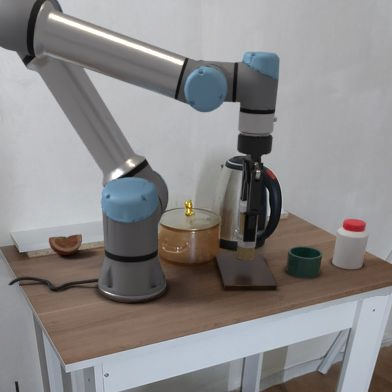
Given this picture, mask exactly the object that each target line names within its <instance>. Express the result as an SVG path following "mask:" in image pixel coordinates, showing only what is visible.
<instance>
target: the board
mask: <svg viewBox="0 0 392 392" xmlns="http://www.w3.org/2000/svg"><path fill="white" fill-rule="evenodd" d="M236 254H237V252H236V253H235V252H233V253H231V252H229V253H226V252H225V253H223V252H222V253H221V252H219V253H217V252H216V255H215V254H214V258H215V262H216V265H217V269H218V272H219V276H220V279H221V282H222V286H223V289H224V291H276V290H277V287H278V285H277V283H276V281H275V279H274V277H273V275H272V273H271V271H270V268H269V267H268V264H267V263H266V261H265V258H264V257H263V255H262V253H254V256H255V258H254V259H253V260H251V261H242V260H239V259H237V257H236Z"/></svg>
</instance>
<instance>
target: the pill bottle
mask: <svg viewBox="0 0 392 392" xmlns="http://www.w3.org/2000/svg"><path fill="white" fill-rule="evenodd" d="M366 226H367V223H366V222H365V221H364V220H362V219H359V218H358V219H357V218H345V219H344V220H343V223H342V226H341V227H339V228H338V229H337V231H336V236H335V242H334V247H333V253H332V259H331V263H332V264H333V266H335V267H337V268H340V269H343V270H344V269H345V270H358V269H361V268H363V266H364V260H365V256H366V249H367V246H368V241H369V236H370V234H369V231H368V230H367V229H366Z"/></svg>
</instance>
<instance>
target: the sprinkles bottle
mask: <svg viewBox="0 0 392 392" xmlns="http://www.w3.org/2000/svg"><path fill="white" fill-rule="evenodd" d="M246 209H247V201H243V202H242V201H240V203H239V223H238V232H237V233H238V234H237V243H236V244H237V247H236V253H237V254H236V257H237V259H239V260H242V261H251V260H253V259H254V258H255V256H254V254H255V251H256V246H257V245H256V244H257V235H258V221H259V215H257V224H256V235H255V242H243V233H244V220H245V215H243V212H246Z"/></svg>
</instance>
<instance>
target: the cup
mask: <svg viewBox="0 0 392 392" xmlns="http://www.w3.org/2000/svg"><path fill="white" fill-rule="evenodd" d="M323 254H324V253H323V252H322V250H319V249H317V248H315V247H311V246H302V245H301V246H299V245H298V246H292V247H290V248H289V249H288V251H287V258H286V265H285V271H286V272H287V274H289V275H290V276H292V277H297V278H302V279H311V278H317V277H318V276H319V275H320V273H321V267H322V260H323Z"/></svg>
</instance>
